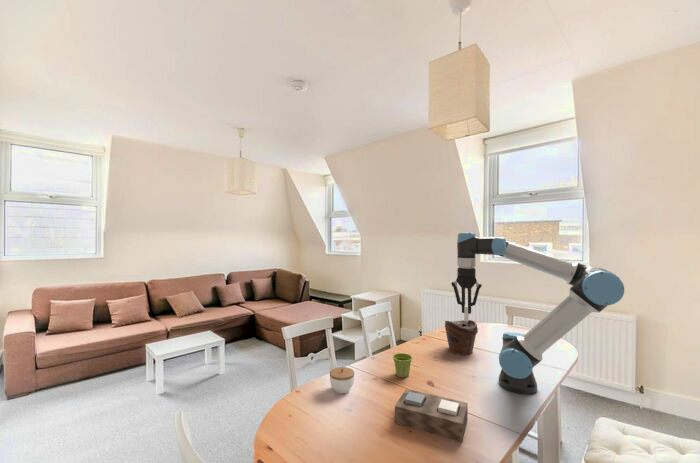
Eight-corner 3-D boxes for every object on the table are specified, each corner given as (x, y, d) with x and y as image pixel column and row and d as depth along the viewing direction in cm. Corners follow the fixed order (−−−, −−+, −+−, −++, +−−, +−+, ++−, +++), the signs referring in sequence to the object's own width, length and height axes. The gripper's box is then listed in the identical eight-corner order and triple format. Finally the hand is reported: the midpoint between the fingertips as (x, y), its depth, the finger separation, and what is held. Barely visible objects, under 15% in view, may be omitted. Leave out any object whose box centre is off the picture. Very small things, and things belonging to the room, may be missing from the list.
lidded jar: (357, 386, 137) (357, 365, 137) (349, 398, 127) (349, 375, 127) (335, 382, 141) (335, 361, 141) (325, 393, 131) (325, 371, 131)
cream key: (458, 414, 110) (458, 403, 110) (456, 423, 105) (456, 411, 105) (441, 410, 113) (441, 399, 113) (438, 418, 108) (438, 407, 108)
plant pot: (412, 380, 143) (412, 361, 143) (391, 378, 145) (392, 359, 145) (412, 371, 152) (412, 353, 152) (393, 369, 154) (393, 352, 154)
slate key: (425, 405, 116) (425, 395, 116) (421, 414, 110) (421, 402, 110) (409, 402, 118) (409, 391, 118) (404, 409, 113) (404, 398, 113)
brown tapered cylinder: (481, 348, 184) (480, 317, 184) (474, 359, 167) (473, 326, 167) (450, 342, 193) (449, 314, 193) (441, 353, 176) (440, 321, 177)
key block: (467, 419, 113) (467, 402, 113) (462, 442, 100) (462, 423, 100) (406, 403, 123) (406, 388, 123) (394, 422, 111) (394, 405, 111)
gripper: (482, 267, 137) (483, 320, 137) (452, 265, 143) (452, 316, 143) (481, 268, 131) (481, 324, 130) (449, 267, 136) (449, 320, 136)
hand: (466, 320), depth 137 cm, fingers closed
